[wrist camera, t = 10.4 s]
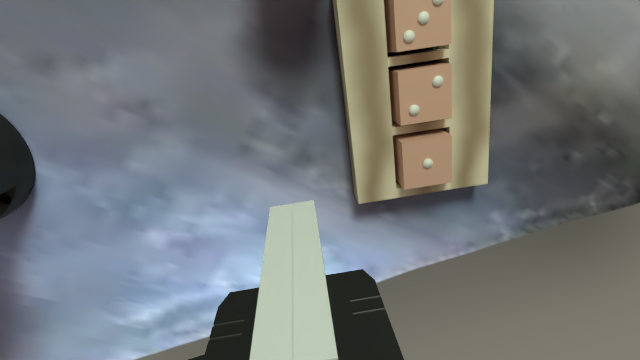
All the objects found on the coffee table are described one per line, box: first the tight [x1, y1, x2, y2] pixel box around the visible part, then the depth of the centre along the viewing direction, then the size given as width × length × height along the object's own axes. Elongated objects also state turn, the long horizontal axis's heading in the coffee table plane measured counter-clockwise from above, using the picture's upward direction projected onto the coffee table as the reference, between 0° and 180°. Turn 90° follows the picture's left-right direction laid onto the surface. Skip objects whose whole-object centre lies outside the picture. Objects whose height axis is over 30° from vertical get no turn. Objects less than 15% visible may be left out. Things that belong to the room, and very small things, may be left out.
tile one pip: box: [393, 128, 452, 190], centre depth 41 cm, size 6×6×5 cm
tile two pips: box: [388, 63, 452, 126], centre depth 39 cm, size 6×6×5 cm
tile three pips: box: [384, 0, 451, 52], centre depth 36 cm, size 6×6×5 cm
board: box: [333, 0, 494, 204], centre depth 40 cm, size 16×24×3 cm, turn 8°
